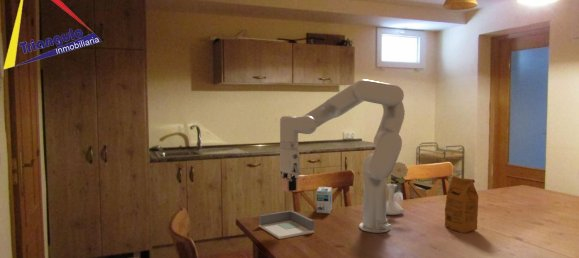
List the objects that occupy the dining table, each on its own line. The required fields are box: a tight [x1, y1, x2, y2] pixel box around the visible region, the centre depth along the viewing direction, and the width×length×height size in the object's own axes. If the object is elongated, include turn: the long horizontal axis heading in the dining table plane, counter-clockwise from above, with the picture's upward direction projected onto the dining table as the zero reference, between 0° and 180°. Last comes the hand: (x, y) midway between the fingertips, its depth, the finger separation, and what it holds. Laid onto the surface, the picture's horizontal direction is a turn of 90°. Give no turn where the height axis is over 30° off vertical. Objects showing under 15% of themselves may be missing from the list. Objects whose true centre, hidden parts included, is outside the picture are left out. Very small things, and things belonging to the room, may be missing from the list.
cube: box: [280, 176, 298, 193], centre depth 169 cm, size 5×5×5 cm
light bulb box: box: [316, 186, 333, 214], centre depth 198 cm, size 11×7×11 cm, turn 169°
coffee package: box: [444, 174, 479, 234], centre depth 168 cm, size 10×12×22 cm
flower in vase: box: [386, 161, 409, 216], centre depth 191 cm, size 13×11×25 cm
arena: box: [258, 209, 315, 240], centre depth 168 cm, size 18×16×5 cm
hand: (289, 188), depth 169 cm, fingers closed on cube, 5 cm apart
